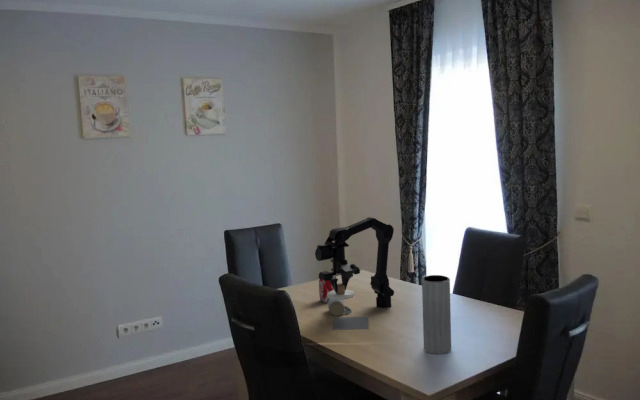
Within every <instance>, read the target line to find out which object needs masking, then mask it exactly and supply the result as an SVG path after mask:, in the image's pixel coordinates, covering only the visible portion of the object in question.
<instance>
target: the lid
mask: <svg viewBox="0 0 640 400" xmlns="http://www.w3.org/2000/svg"><path fill="white" fill-rule="evenodd" d="M354 296H355V292H354V291H353V290H351V289H346V291H345V284H342V282H341V283H337V293H335V291H334V289H333V291H330V292H328V293H327V297H328V298H330V299H335V300H343V301H344V300H348V299H352V298H354Z"/></svg>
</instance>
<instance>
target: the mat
mask: <svg viewBox="0 0 640 400" xmlns="http://www.w3.org/2000/svg"><path fill="white" fill-rule="evenodd" d="M369 326H370V325H369V316H341V317H340V316H338V317H337V316H336V317H334V319H333V325H332V330H333V331H334V330H335V331H336V330H338V331H340V330H369V329H370V327H369Z"/></svg>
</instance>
